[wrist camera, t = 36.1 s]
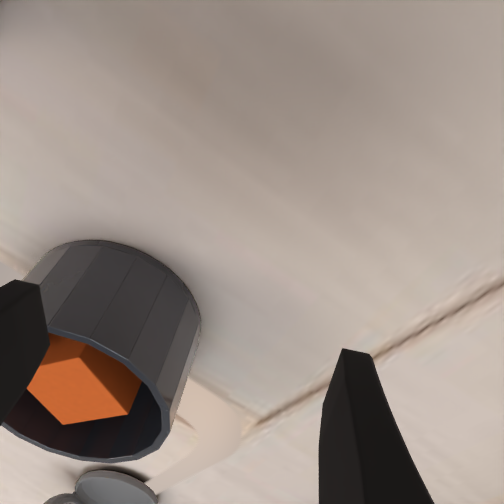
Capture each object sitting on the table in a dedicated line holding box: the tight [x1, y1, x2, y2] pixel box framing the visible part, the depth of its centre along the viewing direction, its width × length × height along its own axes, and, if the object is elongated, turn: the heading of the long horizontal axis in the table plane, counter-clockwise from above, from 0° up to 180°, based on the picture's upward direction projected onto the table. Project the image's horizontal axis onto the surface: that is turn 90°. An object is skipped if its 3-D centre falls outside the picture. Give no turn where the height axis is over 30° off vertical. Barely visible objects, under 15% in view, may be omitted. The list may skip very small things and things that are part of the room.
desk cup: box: [1, 240, 201, 463], centre depth 24 cm, size 10×10×6 cm
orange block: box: [27, 333, 142, 425], centre depth 24 cm, size 4×4×5 cm
